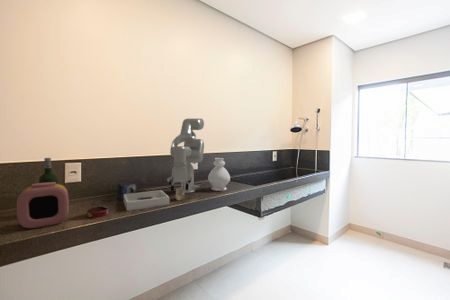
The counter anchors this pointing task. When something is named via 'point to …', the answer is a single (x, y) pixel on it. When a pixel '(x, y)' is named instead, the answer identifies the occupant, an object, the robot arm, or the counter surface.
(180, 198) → the plug
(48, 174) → the wine bottle
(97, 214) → the canned food
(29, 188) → the alarm clock
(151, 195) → the walled box
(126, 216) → the counter surface
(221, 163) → the decorative vase
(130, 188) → the small box
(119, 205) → the counter surface
